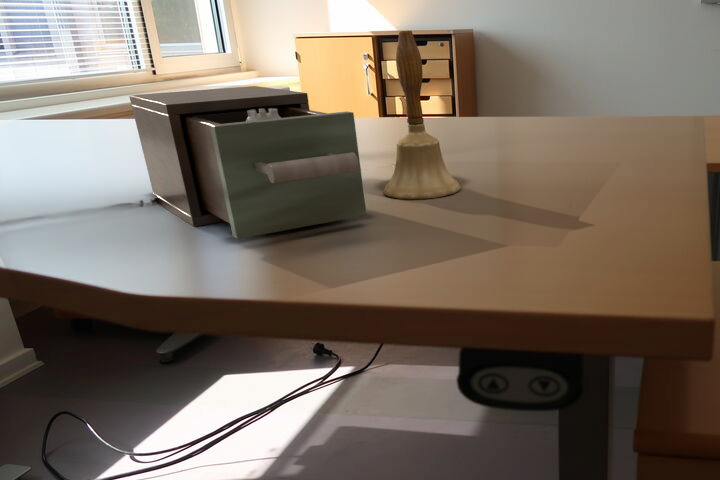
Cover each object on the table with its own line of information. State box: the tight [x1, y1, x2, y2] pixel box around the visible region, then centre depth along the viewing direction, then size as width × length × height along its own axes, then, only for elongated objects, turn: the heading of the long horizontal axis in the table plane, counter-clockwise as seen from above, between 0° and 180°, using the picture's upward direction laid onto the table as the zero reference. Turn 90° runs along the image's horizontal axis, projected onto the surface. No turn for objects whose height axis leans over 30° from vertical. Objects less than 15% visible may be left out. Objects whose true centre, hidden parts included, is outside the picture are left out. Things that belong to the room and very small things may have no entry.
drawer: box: [180, 106, 367, 240], centre depth 65 cm, size 18×12×9 cm, turn 38°
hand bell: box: [383, 30, 461, 200], centre depth 77 cm, size 8×8×16 cm
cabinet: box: [128, 85, 311, 228], centre depth 75 cm, size 15×13×11 cm
